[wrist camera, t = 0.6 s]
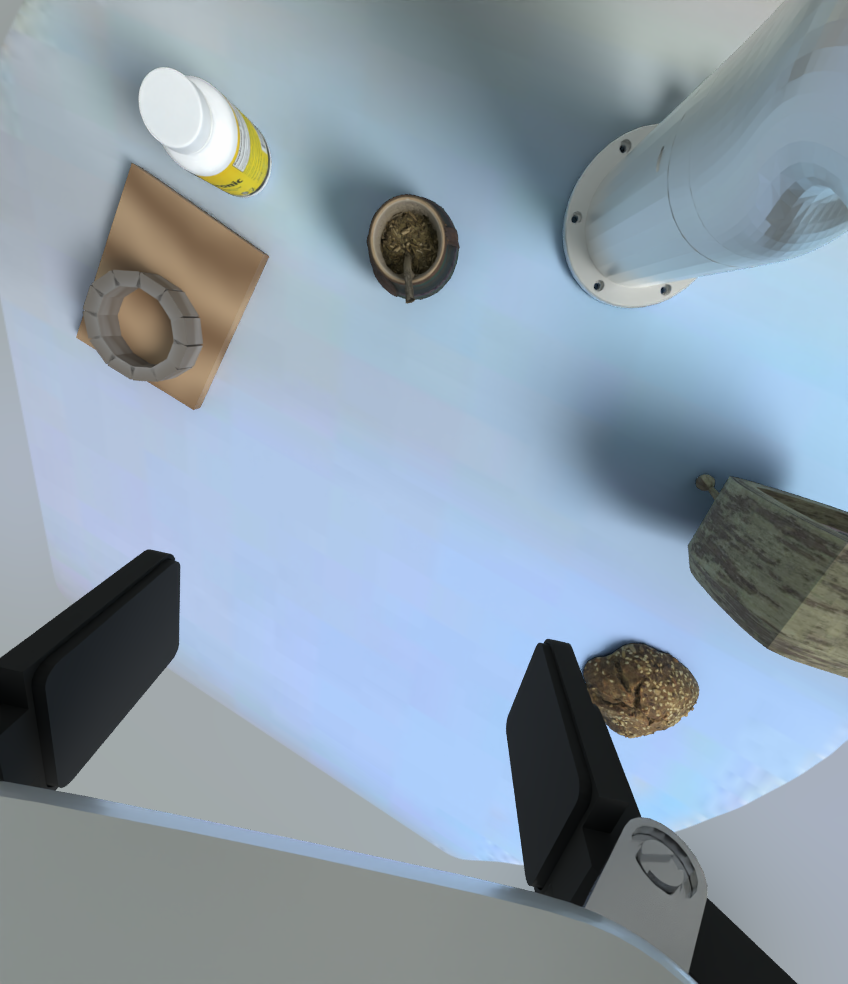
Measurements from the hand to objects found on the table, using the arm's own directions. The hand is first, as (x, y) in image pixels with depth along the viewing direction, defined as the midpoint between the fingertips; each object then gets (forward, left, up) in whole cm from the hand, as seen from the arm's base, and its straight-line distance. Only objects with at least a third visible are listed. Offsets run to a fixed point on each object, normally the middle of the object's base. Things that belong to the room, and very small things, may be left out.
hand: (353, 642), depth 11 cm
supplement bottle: (-8, -24, -34) cm, 42 cm away
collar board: (+5, -25, -33) cm, 42 cm away
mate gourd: (-10, -8, -34) cm, 36 cm away
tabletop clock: (-8, +32, -34) cm, 47 cm away
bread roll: (+14, +39, -34) cm, 54 cm away
